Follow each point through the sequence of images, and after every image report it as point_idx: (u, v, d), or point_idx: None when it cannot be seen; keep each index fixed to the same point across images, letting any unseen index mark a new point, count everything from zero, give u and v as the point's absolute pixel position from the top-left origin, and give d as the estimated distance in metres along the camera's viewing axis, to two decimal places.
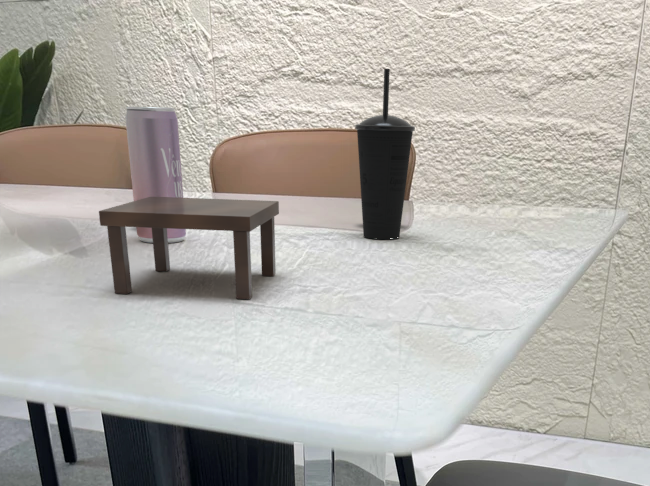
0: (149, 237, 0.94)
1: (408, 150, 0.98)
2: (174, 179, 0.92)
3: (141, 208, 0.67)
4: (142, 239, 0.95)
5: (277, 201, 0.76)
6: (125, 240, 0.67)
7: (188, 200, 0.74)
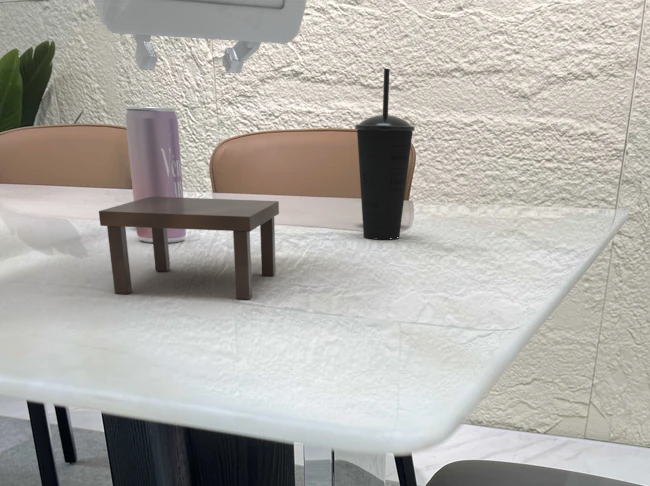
0: (149, 237, 0.94)
1: (408, 150, 0.98)
2: (174, 179, 0.92)
3: (141, 208, 0.67)
4: (142, 239, 0.95)
5: (277, 201, 0.76)
6: (125, 240, 0.67)
7: (188, 200, 0.74)
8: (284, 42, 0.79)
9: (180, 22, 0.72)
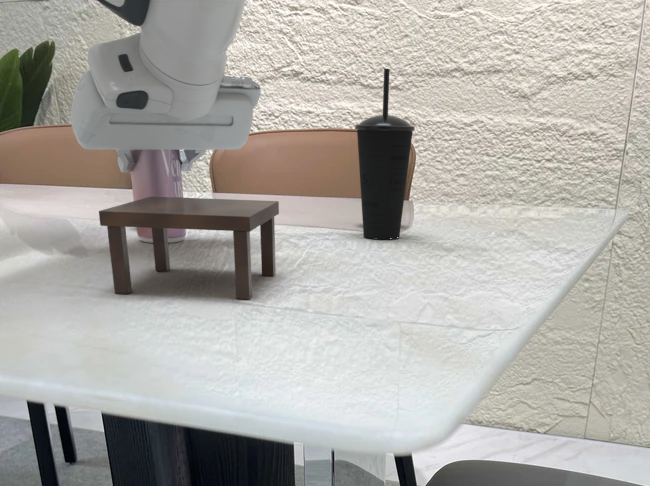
0: (149, 237, 0.94)
1: (408, 150, 0.98)
2: (174, 179, 0.92)
3: (141, 208, 0.67)
4: (142, 239, 0.95)
5: (277, 201, 0.76)
6: (125, 240, 0.67)
7: (188, 200, 0.74)
8: (235, 149, 0.93)
9: (143, 139, 0.86)
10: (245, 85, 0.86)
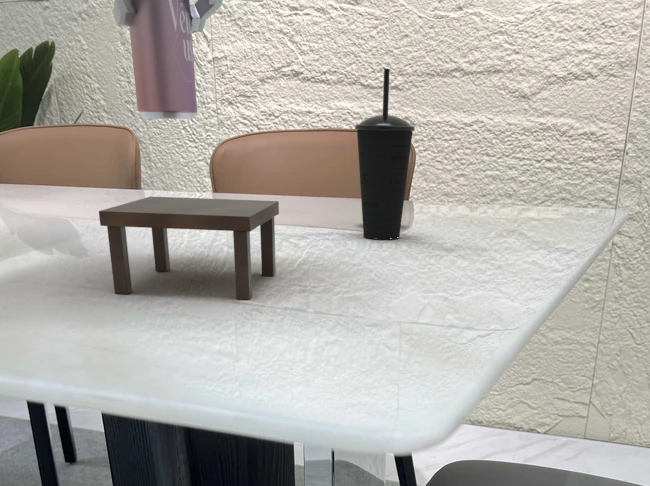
0: (153, 111, 0.76)
1: (408, 150, 0.98)
2: (183, 35, 0.75)
3: (141, 208, 0.67)
4: (144, 115, 0.77)
5: (277, 201, 0.76)
6: (125, 240, 0.67)
7: (188, 200, 0.74)
8: (258, 1, 0.76)
9: None
10: None
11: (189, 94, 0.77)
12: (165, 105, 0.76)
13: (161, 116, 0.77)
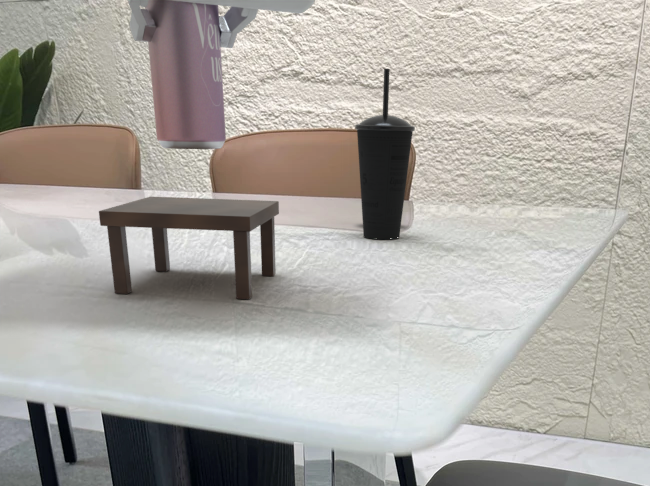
0: (175, 140, 0.65)
1: (408, 150, 0.98)
2: (211, 52, 0.64)
3: (141, 208, 0.67)
4: (165, 144, 0.66)
5: (277, 201, 0.76)
6: (125, 240, 0.67)
7: (188, 200, 0.74)
8: (298, 12, 0.65)
9: None
10: None
11: (217, 121, 0.66)
12: (190, 133, 0.65)
13: (185, 146, 0.66)
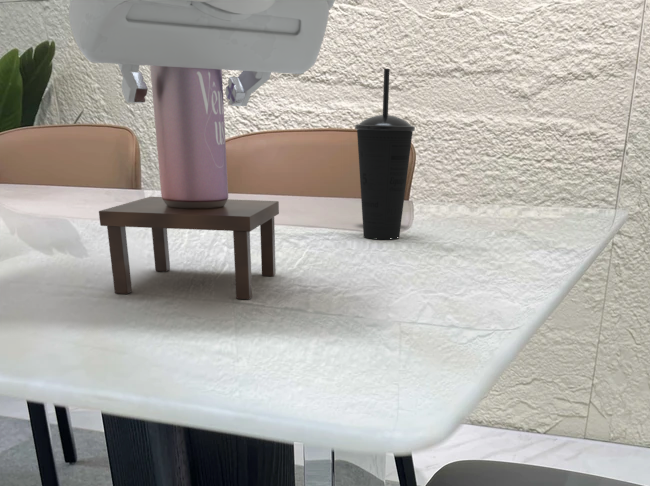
0: (179, 200, 0.68)
1: (408, 150, 0.98)
2: (215, 117, 0.66)
3: (141, 208, 0.67)
4: (169, 203, 0.68)
5: (277, 201, 0.76)
6: (125, 240, 0.67)
7: None
8: (299, 73, 0.67)
9: (174, 50, 0.60)
10: None
11: (220, 181, 0.68)
12: (194, 194, 0.67)
13: (188, 206, 0.68)
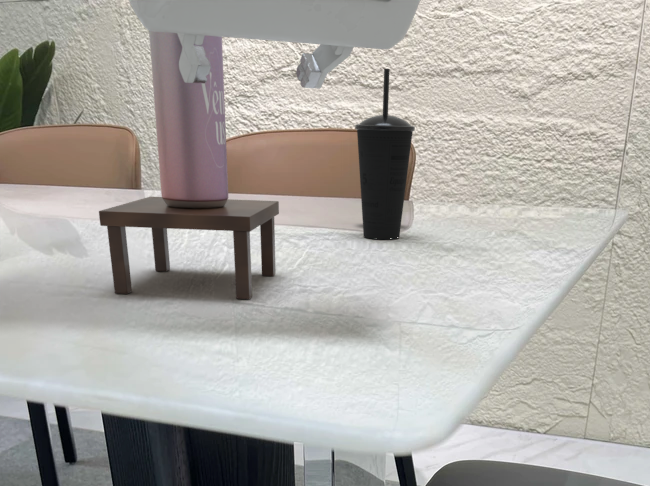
0: (179, 199, 0.68)
1: (408, 150, 0.98)
2: (216, 117, 0.66)
3: (141, 208, 0.67)
4: (169, 203, 0.68)
5: (277, 201, 0.76)
6: (125, 240, 0.67)
7: None
8: (385, 48, 0.57)
9: (248, 17, 0.50)
10: None
11: (220, 181, 0.68)
12: (194, 194, 0.67)
13: (188, 205, 0.68)
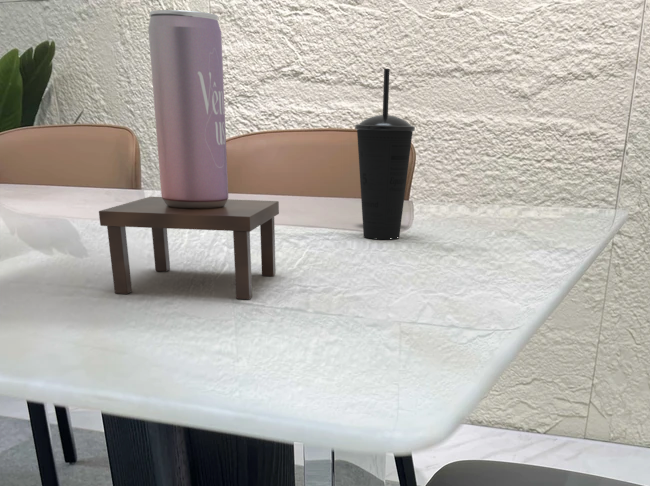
0: (179, 200, 0.68)
1: (408, 150, 0.98)
2: (215, 118, 0.66)
3: (141, 208, 0.67)
4: (169, 203, 0.68)
5: (277, 201, 0.76)
6: (125, 240, 0.67)
7: None
8: None
9: None
10: None
11: (220, 181, 0.68)
12: (193, 194, 0.67)
13: (188, 206, 0.68)
